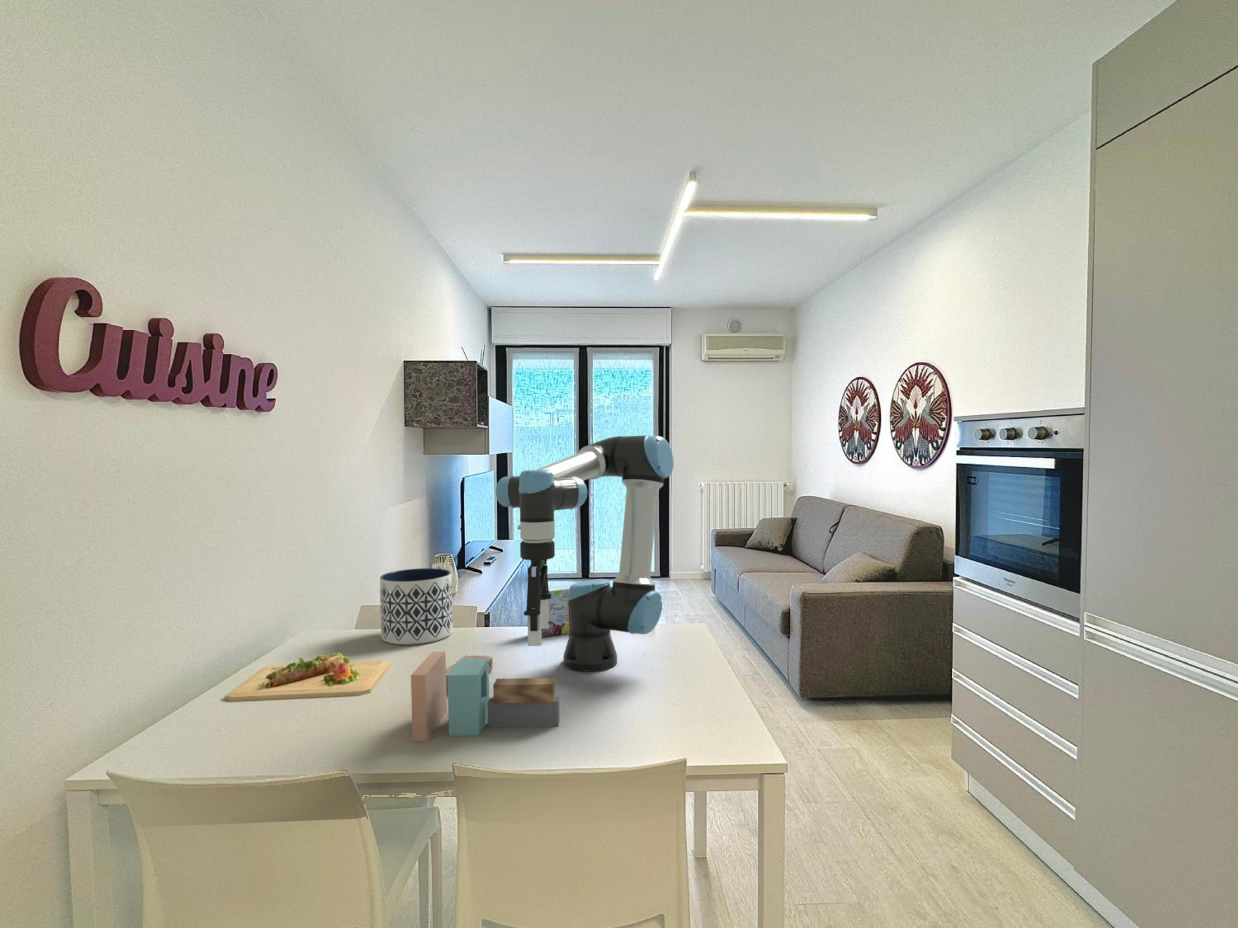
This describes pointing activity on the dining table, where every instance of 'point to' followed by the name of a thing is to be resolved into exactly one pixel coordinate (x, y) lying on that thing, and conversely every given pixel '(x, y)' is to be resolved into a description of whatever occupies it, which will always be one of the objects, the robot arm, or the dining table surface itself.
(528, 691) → the bar
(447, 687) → the brick
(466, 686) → the block
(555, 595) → the snack box
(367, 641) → the dining table surface
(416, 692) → the base
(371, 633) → the dining table surface
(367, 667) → the cutting board
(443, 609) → the planter
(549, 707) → the rail
